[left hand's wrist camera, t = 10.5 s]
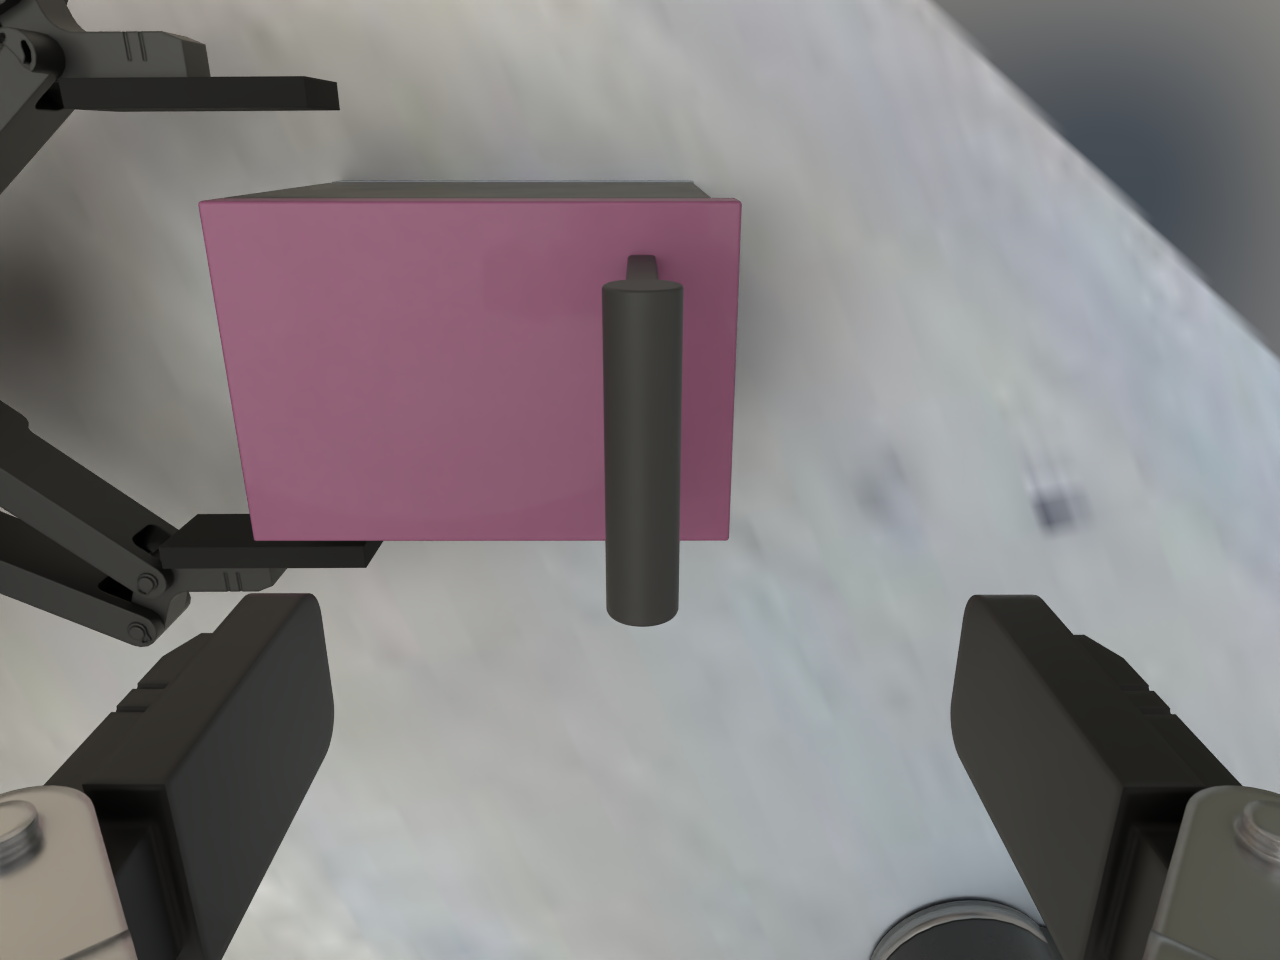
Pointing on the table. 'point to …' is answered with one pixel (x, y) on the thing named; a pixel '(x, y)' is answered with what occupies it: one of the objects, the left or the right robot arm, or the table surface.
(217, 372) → the table surface
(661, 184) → the chest
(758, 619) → the table surface
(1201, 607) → the table surface
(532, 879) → the table surface
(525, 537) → the lid
